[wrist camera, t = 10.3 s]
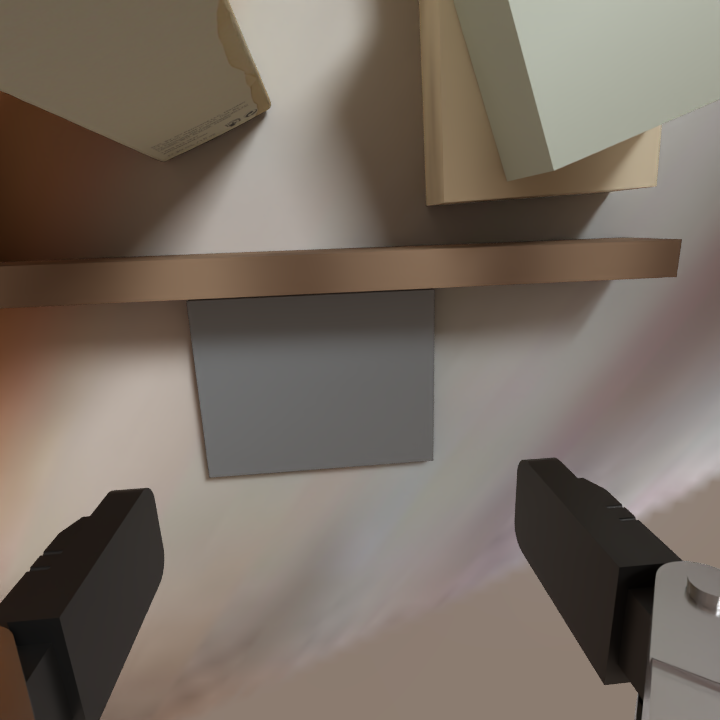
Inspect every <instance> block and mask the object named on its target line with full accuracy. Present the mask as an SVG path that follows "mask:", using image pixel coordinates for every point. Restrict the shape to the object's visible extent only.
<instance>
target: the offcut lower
mask: <svg viewBox="0 0 720 720" xmlns="http://www.w3.org/2000/svg"><path fill="white" fill-rule="evenodd" d="M419 19H420V46H421V73H422V101H423V128H424V155H425V182H426V206H433V205H445V204H458V203H471V202H484V201H497V200H510V199H523V198H536V197H549V196H562V195H575V194H588V193H601V192H613V191H621V190H630V189H638V188H647V187H655V186H656V185H657V174H658V162H659V151H660V139H661V127H662V125H659V126H657V127H655V128H652V129H650V130H648V131H645V132H643V133H641V134H638V135H636V136H634V137H631V138H629V139H627V140H624V141H622V142H620V143H617V144H615V145H613V146H610V147H608V148H606V149H603V150H601V151H599V152H597V153H594V154H592V155H590V156H587V157H585V158H583V159H580V160H578V161H576V162H573V163H571V164H569V165H566V166H564V167H562V168H559V169H557V170H555V171H551V172H546V173H542V174H538V175H533V176H529V177H525V178H520V179H516V180H512V181H507V179H506V176H505V173H504V169H503V166H502V163H501V159H500V156H499V153H498V149H497V146H496V142H495V139H494V136H493V132H492V129H491V126H490V122H489V119H488V116H487V112H486V109H485V105H484V102H483V99H482V95H481V92H480V89H479V85H478V82H477V79H476V75H475V72H474V69H473V65H472V62H471V58H470V55H469V52H468V48H467V45H466V42H465V38H464V35H463V32H462V28H461V25H460V21H459V18H458V15H457V11H456V8H455V5H454V1H453V0H419Z"/></svg>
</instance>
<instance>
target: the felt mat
mask: <svg viewBox="0 0 720 720" xmlns="http://www.w3.org/2000/svg"><path fill="white" fill-rule="evenodd" d="M434 293H435V290H434V289H432V288H428V289H407V290H385V291H364V292H342V293H321V294H299V295H278V296H256V297H235V298H213V299H192V300H188V301H186V302H187V309H188V317H189V325H190V332H191V340H192V347H193V355H194V363H195V370H196V378H197V386H198V393H199V401H200V409H201V416H202V424H203V431H204V439H205V447H206V454H207V462H208V470H209V477H223V476H236V475H249V474H262V473H276V472H289V471H302V470H315V469H328V468H341V467H354V466H367V465H380V464H393V463H406V462H419V461H432V460H433V427H434Z"/></svg>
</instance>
